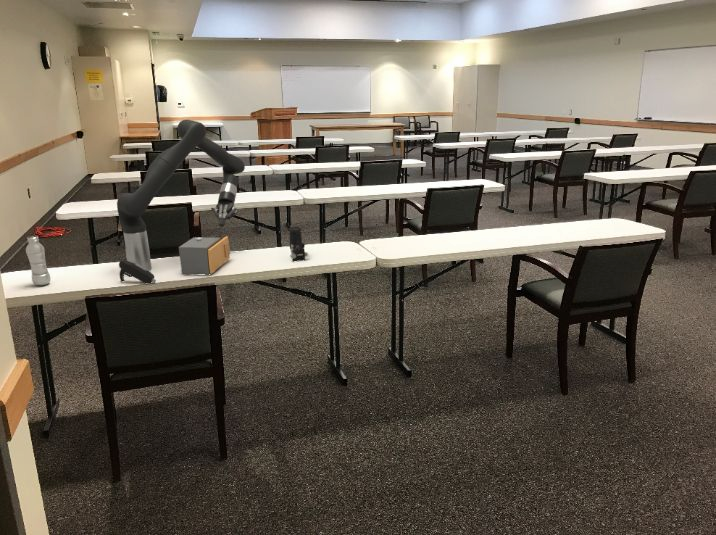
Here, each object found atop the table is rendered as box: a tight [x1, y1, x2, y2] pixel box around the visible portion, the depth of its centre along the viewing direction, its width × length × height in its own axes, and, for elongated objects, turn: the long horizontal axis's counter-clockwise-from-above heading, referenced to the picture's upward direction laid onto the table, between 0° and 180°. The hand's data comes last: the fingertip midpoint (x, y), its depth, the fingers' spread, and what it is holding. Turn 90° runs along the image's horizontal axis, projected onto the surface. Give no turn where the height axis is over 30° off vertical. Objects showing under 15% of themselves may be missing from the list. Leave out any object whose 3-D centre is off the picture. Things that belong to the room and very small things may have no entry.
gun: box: [118, 259, 157, 284], centre depth 226 cm, size 3×16×10 cm, turn 79°
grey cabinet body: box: [178, 236, 221, 276], centre depth 240 cm, size 14×16×13 cm
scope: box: [288, 226, 309, 263], centre depth 253 cm, size 8×14×10 cm
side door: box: [208, 236, 231, 274], centre depth 242 cm, size 2×22×10 cm, turn 173°
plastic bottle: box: [25, 235, 51, 286], centre depth 223 cm, size 6×7×20 cm
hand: (221, 226), depth 258 cm, fingers closed
